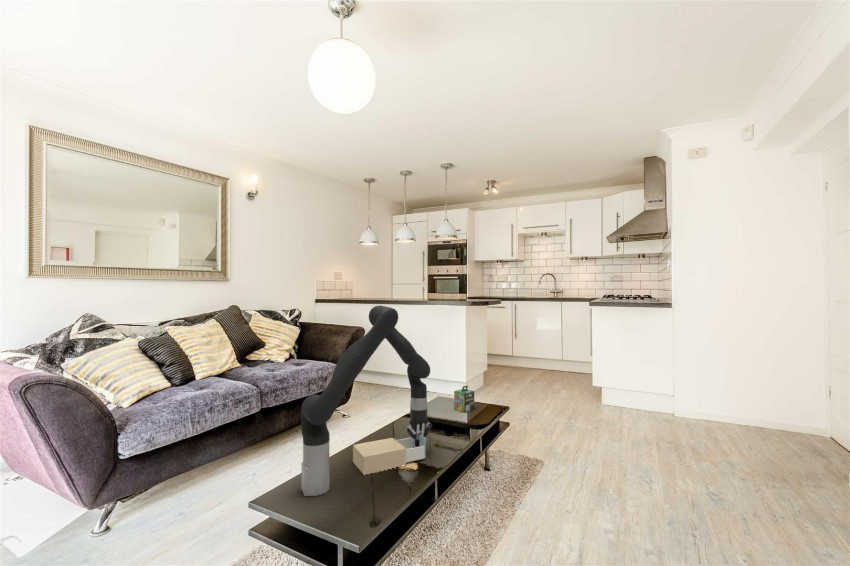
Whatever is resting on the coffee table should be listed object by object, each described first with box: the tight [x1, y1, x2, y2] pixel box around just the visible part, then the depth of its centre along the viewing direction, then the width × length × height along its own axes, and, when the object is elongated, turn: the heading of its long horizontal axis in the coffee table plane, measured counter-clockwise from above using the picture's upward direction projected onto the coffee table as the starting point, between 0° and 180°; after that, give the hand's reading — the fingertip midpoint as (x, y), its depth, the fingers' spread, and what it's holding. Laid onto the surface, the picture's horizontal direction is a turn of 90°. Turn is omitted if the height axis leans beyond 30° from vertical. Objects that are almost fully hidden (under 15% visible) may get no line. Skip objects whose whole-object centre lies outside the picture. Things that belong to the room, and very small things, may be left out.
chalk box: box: [453, 384, 475, 413], centre depth 240 cm, size 9×9×15 cm
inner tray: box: [395, 429, 427, 463], centre depth 166 cm, size 25×12×8 cm, turn 118°
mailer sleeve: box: [352, 437, 407, 476], centre depth 163 cm, size 18×14×7 cm
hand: (418, 447), depth 172 cm, fingers closed
